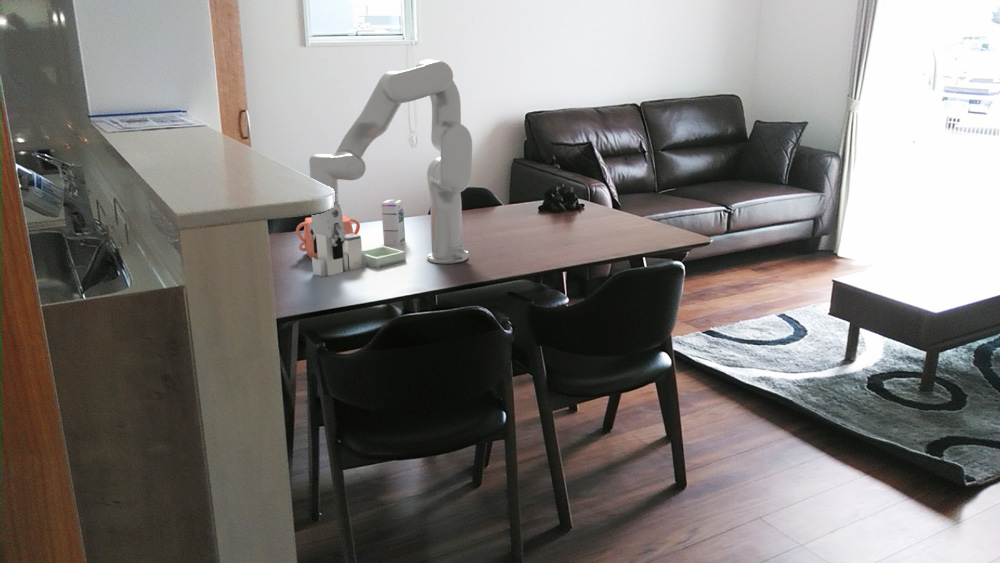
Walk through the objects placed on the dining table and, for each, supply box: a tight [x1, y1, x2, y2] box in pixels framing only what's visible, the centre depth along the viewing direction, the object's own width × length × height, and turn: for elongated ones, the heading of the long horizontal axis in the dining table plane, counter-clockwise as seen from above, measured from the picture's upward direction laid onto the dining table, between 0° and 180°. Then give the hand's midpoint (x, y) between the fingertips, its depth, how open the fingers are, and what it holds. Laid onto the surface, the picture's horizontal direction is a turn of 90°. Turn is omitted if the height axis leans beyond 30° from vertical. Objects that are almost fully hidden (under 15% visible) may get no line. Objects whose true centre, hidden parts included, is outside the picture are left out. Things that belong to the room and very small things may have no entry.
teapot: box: [295, 214, 361, 260], centre depth 255 cm, size 20×19×14 cm
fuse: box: [316, 233, 344, 277], centre depth 233 cm, size 5×5×12 cm
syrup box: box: [380, 199, 406, 246], centre depth 265 cm, size 6×6×14 cm
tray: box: [364, 245, 407, 269], centre depth 245 cm, size 11×11×3 cm
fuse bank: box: [311, 232, 367, 278], centre depth 235 cm, size 5×16×10 cm, turn 135°
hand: (328, 255), depth 233 cm, fingers open, 9 cm apart
